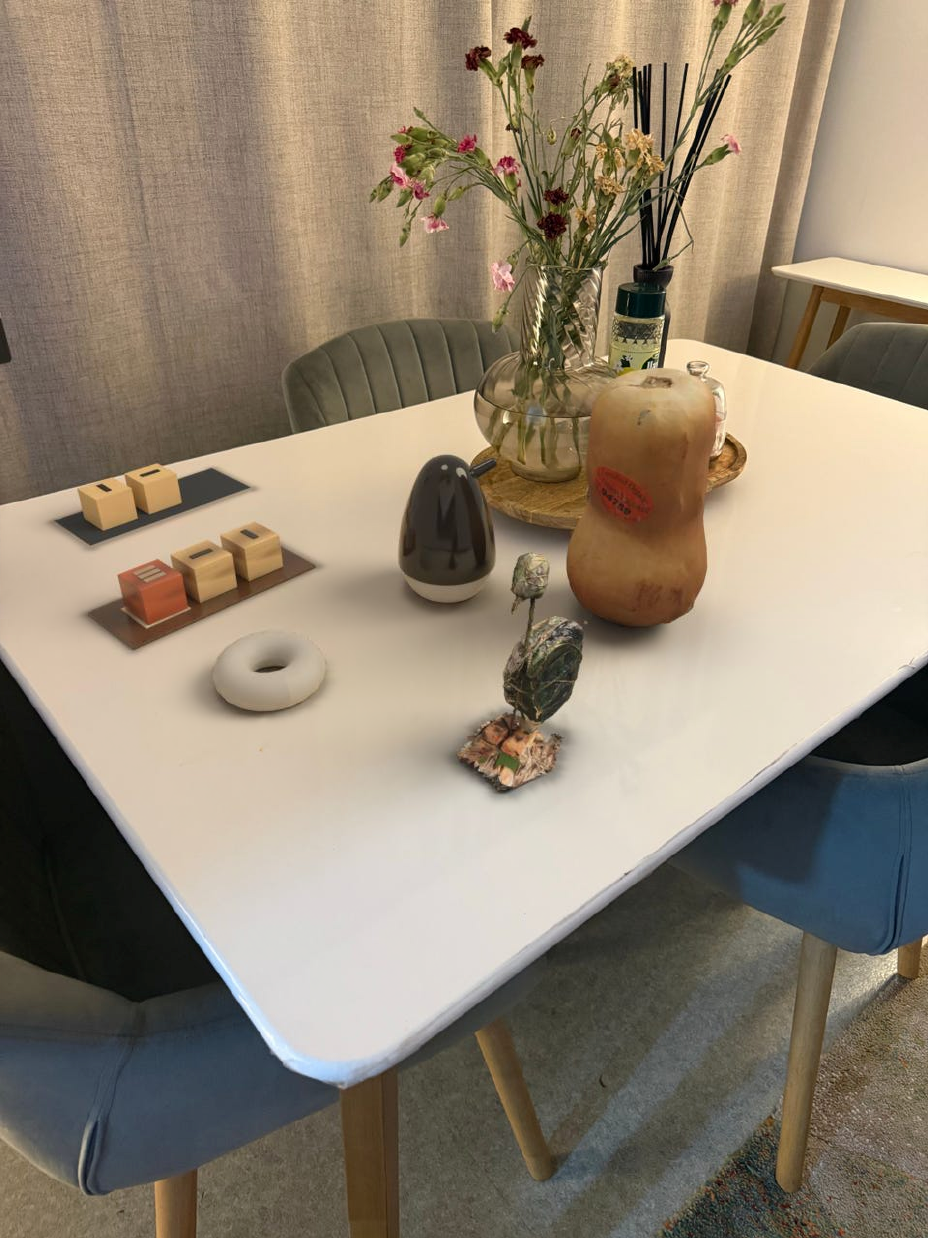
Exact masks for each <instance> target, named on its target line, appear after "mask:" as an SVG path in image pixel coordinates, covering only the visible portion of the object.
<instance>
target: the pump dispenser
mask: <svg viewBox="0 0 928 1238" xmlns="http://www.w3.org/2000/svg"><path fill="white" fill-rule="evenodd" d="M497 466H498V461H497V459H496V458H495V457H494V456H491V457H489V458H487V459H485V460H482V461H480V462H478V463H475V464H473V465H472V466H470V465H469V464H468V462H466V460H464V459H463V458H461V457H460V456H458V455H457V456H456V455H453V454H447V453H446V454H439V455H436V456H434V457H432V458H430V459H428V460H427V461H426V462H425V463H424V465H423V466H422V467H421V469H420V471H419V472H418V474H417V476H416V478H414V482H413V484H412V486H411V489H410V492H409V494H408V497H407V500H406V502H405V506H404V510H403V514H402V518H401V522H400V529H399V535H398V536H399V538H398V546H397V562H398V566H399V568H400V570H401V571H402V573H403V576H404V578H405V580H406V582H407V584H408V585H409V587H410V588H411V589H412V590H413V591H414V592H415V593H416V594H418V595H419V596H421V597H422V598H424V599H426V600H429V601H432V602H435V603H441V604H442V603H443V604H447V603H448V604H452V603H458V602H462V601H465V600H468V599H470V598H472V597H474V596H476V595H477V594H478V593H479V592H480V591H481V590H482V589H483V588H484V587H485V586H486V584H487V583H488V581H489V579H490V576H491V573H492V571H493V570H494V569H495V566H496V562H497V548H496V539H495V538H496V537H495V531H494V524H493V519H492V515H491V512H490V511H491V510H490V507H489V505H488V501H487V498H486V495H485V492H484V491H483V488H482V487H481V484H480V481H479V479H480V478H482V477H483V476H485V475H486V474H487V473H490V472H491V471H492V470H494V469H495V468H497Z"/></svg>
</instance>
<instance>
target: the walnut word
mask: <svg viewBox="0 0 928 1238" xmlns="http://www.w3.org/2000/svg"><path fill="white" fill-rule="evenodd" d="M219 537H220V542H221V546H219V545H217V544H216V543H214V542H212V541H211V540H209V539H206V540H203V541H201V542H198V543H196V544H193V545H191V546H188V547H185V548H183V549H180V550H177V551H175V552H173V553H171V554H170V560H171V565H172V568H173V569H174V570H176V571H178V572H179V573H181V574H182V579H183V584H184V589H185V594H186V599H187V605H188V608H187V609H185V610H182V611H180V612H178V613H176V614H173V615H171V616H169V617H166V618H164V619H162V620H160V621H157V622H155V623H153V624H151V625H147V624H146V623H144V622H143V621H142V620H140V619H139V618H138V617H136V616H135V615H133V614H132V613H131V612H129V611H128V610H127V609H125V605H124V601H123V597H121V598H119V599H116V600H113V601H111V602H109V603H107V604H104V605H102V606H99V607H96V608H95V609H92V610H89V611H88V612H87V613H88V614H87V615H89V616H90V618H93V620H95V621H96V622H97V623H99V624H100V625H102V626H103V627H104V628H105V629H107V630H108V631H109V632H110V633H112V634H113V635H114V636H115V637H116V638H118V639H119V640H121V641H122V642H123V643H125V644H126V645H127V646H128V647H130V648H131V649H132V650H133V651H134V650H138V649H140V648H142V647H145V646H146V645H149V644H151V643H153V642H155V641H158V640H160V639H162V638H164V637H166V636H169V635H171V634H173V633H176V632H178V631H180V630H182V629H184V628H186V627H188V626H191V625H192V624H195V623H197V622H199V621H201V620H204V619H206V618H209V617H210V616H213V615H215V614H217V613H219V612H222V611H224V610H226V609H228V608H230V607H232V606H236V605H237V604H240V603H241V602H244V601H246V600H248V599H250V598H252V597H255V596H256V595H259V594H261V593H264V592H265V591H268V590H270V589H272V588H274V587H276V586H279V585H281V584H283V583H286V582H288V581H290V580H292V579H294V578H296V577H299V576H301V575H303V574H305V573H308V572H309V571H312V570H314V569H316V568H317V564H314V563H313V562H311V561H309V560H308V559H305V558H303V557H302V556H300V555H298V554H296V553H295V552H293V551H291V550H289V549H287V548H285V547H283V546H282V545H281V537H280V534H279V533H277V532H276V531H274V530H272V529H270V528H268V527H266V526H264V525H262V524H260V523H258V522H256V521H252V522H249V523H246V524H244V525H242V526H240V527H237V528H234V529H232V530H229V531H227V532H224V533H221V534H220V536H219Z"/></svg>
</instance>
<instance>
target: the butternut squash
mask: <svg viewBox="0 0 928 1238" xmlns="http://www.w3.org/2000/svg"><path fill="white" fill-rule="evenodd" d="M716 422H717V402H716V398H715V395H714V393H713V391H712V389H711V388H710V387H709V386H708V384H707V383H706V382H705V381H704V380H702V379H701V378H699V377H697V376H694V375H692V374H690V373H689V372H686V371H684V370H680V369H676V368H669V367H656V368H655V367H654V368H645V369H638V370H630V371H629V372H626V373H624V374H622V375H619V376H617V377H615V378H613V379H611V380H610V381H609V382H608V383H606V384H605V385H604V386H603V388H601V391H600V392H599V393H598V394H597V397H596V398H595V400H594V403H593V406H592V408H591V413H590V417H589V426H588V436H587V442H586V443H587V444H586V452H585V473H586V474H585V475H586V481H587V486H588V500H587V502H586V503H587V504H586V506H585V508H584V511H583V513H582V514H581V516H580V518H579V520H578V522H577V523H576V525H575V527H574V530H573V532H572V535H571V537H570V540H569V543H568V547H567V552H566V561H565V562H566V563H565V564H566V567H565V569H566V570H565V571H566V576H567V579H568V584H569V587H570V590H571V593H572V594H573V595H574V597H575V598H576V600H577V602H578V603H579V604H580V606H581V607H583V608H584V609H586V610H587V611H589V612H590V613H593V615H594V614H595V615H596V616H598V617H600V618H602V619H604V620H606V621H609V622H611V623H612V624H616V625H620V626H623V627H629V628H633V629H635V628H640V627H648V626H649V627H650V626H655V625H667V624H671V623H672V622H674V621H676V620H677V619H678V620H679V618H681V617H683V616H685V615H686V614H688V613H689V612H691V611H692V610H693V608H694V607H695V601H696V599H697V598H698V596H699V594H700V592H701V591H702V588H703V586H704V583H705V581H706V575H707V571H708V551H707V550H708V548H707V540H706V534H705V525H704V513H705V505H706V504H705V503H706V496H707V487H708V480H709V479H708V478H709V470H710V469H709V467H710V459H711V454H712V451H713V448H714V446H715V443H716V441H717V430H716V429H717V427H716Z"/></svg>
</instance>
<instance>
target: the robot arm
mask: <svg viewBox="0 0 928 1238" xmlns="http://www.w3.org/2000/svg"><path fill="white" fill-rule="evenodd" d="M12 360H13V357H12V354H11V350H10V346H9V342H8V338H7V335H6V330H5V327H4V324H3V320H2V312H1V310H0V365H4V364H8V363H11V362H12Z"/></svg>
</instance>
